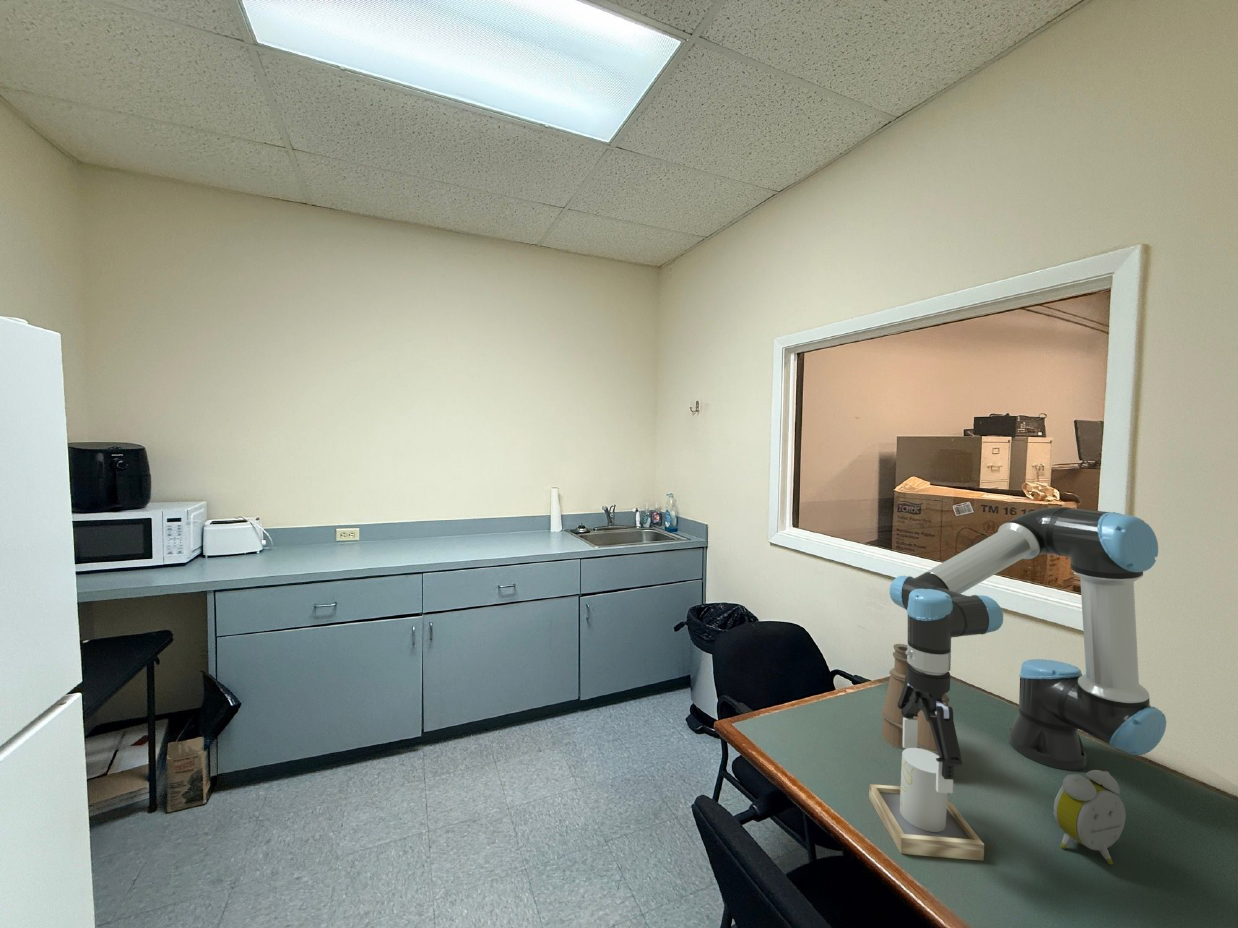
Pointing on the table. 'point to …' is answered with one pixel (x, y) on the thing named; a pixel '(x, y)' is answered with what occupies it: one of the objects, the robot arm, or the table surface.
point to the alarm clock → (1090, 811)
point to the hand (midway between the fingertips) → (925, 768)
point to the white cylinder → (921, 791)
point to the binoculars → (893, 715)
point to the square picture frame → (916, 841)
